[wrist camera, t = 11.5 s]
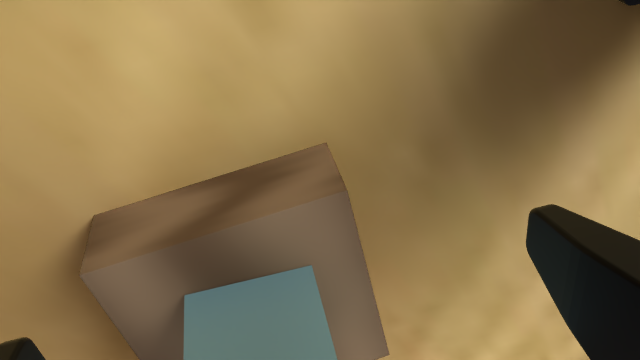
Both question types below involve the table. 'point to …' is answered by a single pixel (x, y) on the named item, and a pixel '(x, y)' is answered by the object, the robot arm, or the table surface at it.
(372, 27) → the table surface
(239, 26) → the table surface
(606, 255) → the robot arm
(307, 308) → the teal cube
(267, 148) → the table surface
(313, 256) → the walnut block
